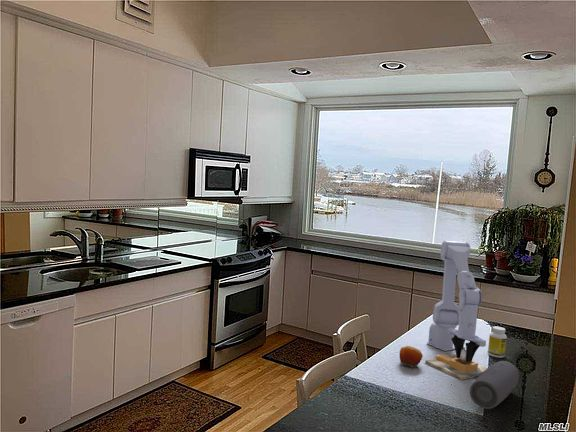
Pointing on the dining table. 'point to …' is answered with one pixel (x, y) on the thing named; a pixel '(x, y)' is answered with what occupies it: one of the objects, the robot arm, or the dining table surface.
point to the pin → (463, 356)
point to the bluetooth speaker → (494, 384)
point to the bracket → (456, 364)
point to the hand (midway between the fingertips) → (463, 359)
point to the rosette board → (453, 371)
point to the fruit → (410, 356)
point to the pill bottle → (497, 342)
